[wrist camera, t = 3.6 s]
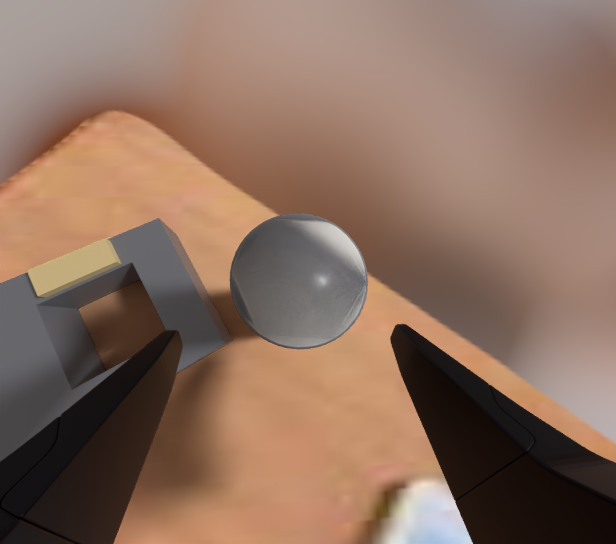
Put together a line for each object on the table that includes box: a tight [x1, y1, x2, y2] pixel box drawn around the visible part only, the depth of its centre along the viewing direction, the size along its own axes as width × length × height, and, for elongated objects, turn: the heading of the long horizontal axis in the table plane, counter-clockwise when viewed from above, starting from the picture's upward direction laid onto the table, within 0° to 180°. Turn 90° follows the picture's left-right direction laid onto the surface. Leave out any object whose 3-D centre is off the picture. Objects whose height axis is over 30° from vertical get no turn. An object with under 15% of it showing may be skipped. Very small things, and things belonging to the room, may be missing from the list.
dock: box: [0, 218, 233, 461], centre depth 14 cm, size 21×10×4 cm, turn 121°
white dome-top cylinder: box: [230, 213, 368, 349], centre depth 13 cm, size 4×4×12 cm
